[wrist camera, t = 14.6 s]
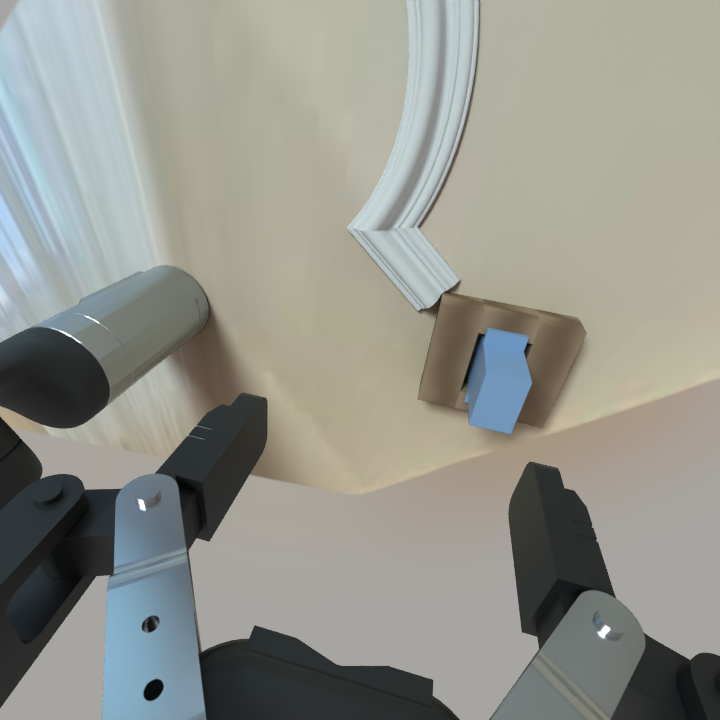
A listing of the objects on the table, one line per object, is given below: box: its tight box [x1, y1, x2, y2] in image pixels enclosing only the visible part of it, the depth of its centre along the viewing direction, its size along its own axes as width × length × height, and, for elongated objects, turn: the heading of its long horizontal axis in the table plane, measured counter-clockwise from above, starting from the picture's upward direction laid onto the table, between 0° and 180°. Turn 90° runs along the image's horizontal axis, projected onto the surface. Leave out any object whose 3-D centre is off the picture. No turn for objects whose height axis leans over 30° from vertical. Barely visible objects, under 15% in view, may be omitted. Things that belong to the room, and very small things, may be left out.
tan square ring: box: [418, 292, 587, 427], centre depth 45 cm, size 14×12×4 cm
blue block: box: [464, 327, 532, 434], centre depth 42 cm, size 4×9×10 cm, turn 173°
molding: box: [347, 0, 479, 311], centre depth 34 cm, size 42×12×3 cm, turn 178°
